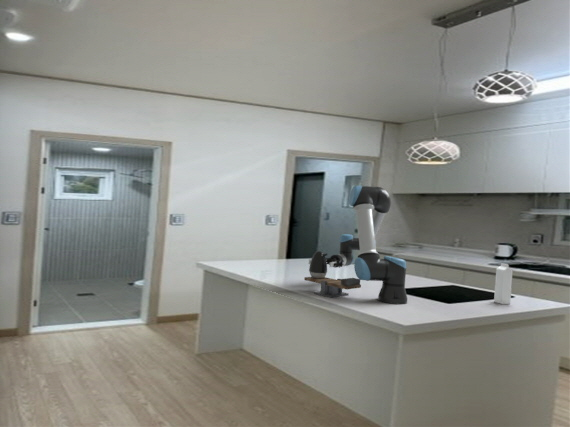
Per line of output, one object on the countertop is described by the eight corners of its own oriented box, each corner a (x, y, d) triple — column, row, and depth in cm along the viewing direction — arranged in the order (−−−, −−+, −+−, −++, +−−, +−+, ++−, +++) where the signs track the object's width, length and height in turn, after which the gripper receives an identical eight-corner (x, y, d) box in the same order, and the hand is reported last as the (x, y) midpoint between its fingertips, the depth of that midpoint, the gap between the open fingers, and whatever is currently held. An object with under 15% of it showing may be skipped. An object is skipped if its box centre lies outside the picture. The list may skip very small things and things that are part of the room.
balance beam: (360, 287, 253) (361, 279, 253) (347, 289, 245) (347, 280, 245) (318, 278, 274) (318, 270, 274) (304, 280, 266) (304, 272, 266)
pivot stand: (348, 295, 261) (349, 280, 261) (330, 298, 250) (331, 282, 250) (331, 291, 269) (332, 277, 269) (313, 293, 259) (314, 279, 258)
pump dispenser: (320, 280, 260) (322, 252, 259) (305, 277, 266) (306, 250, 266) (330, 278, 268) (332, 251, 267) (315, 275, 274) (316, 249, 274)
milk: (501, 304, 262) (504, 264, 261) (493, 301, 267) (496, 262, 267) (510, 304, 263) (513, 264, 263) (502, 301, 269) (505, 262, 269)
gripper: (356, 269, 278) (338, 272, 260) (319, 264, 292) (300, 267, 275) (356, 256, 278) (339, 259, 260) (320, 252, 292) (301, 254, 274)
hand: (319, 263), depth 267 cm, fingers open, 13 cm apart
